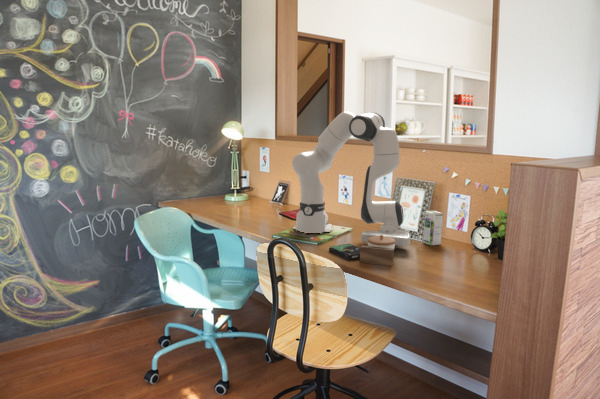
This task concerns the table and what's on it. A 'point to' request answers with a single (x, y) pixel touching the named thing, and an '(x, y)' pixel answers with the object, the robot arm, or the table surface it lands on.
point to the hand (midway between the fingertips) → (382, 242)
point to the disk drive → (346, 251)
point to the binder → (290, 214)
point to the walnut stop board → (376, 255)
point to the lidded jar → (381, 241)
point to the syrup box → (433, 227)
